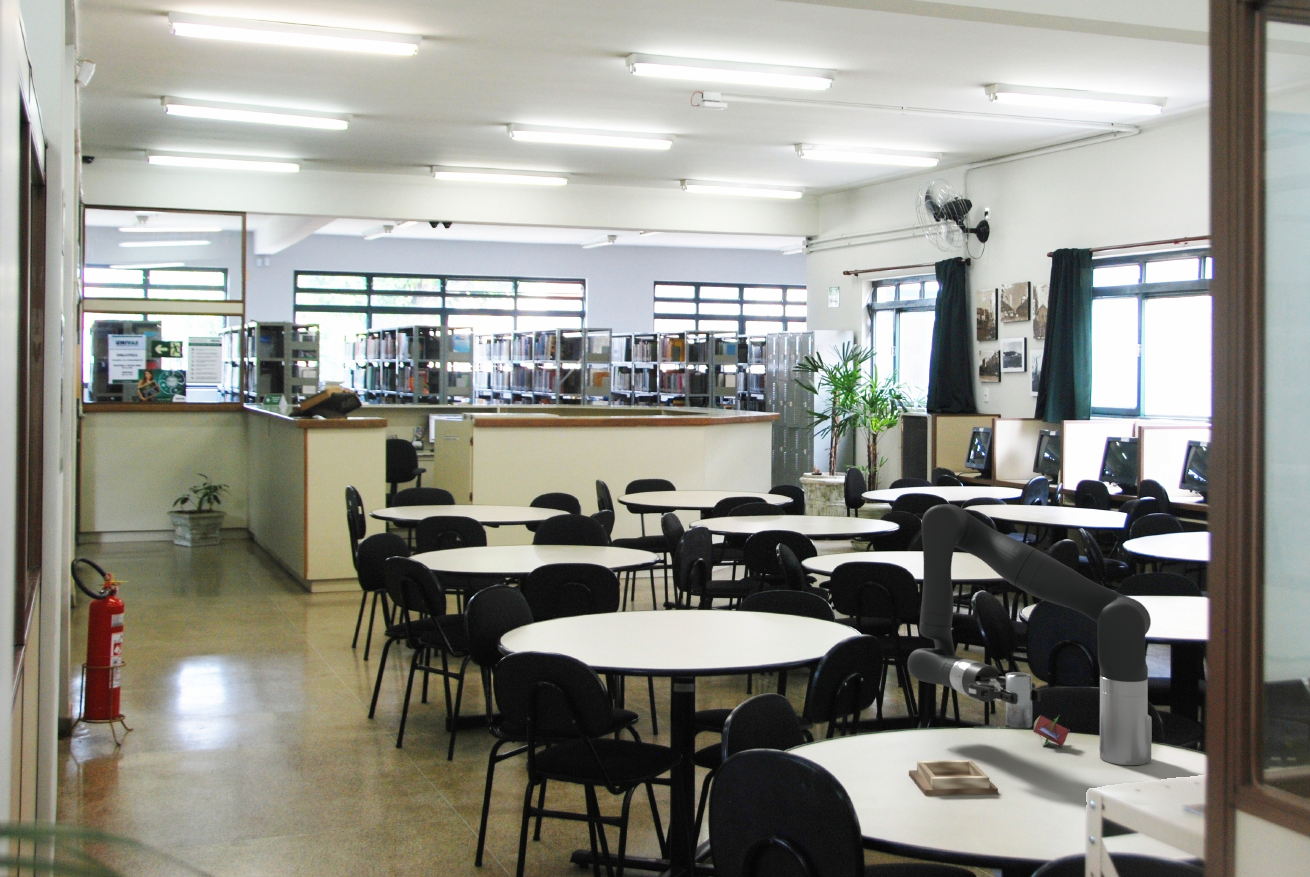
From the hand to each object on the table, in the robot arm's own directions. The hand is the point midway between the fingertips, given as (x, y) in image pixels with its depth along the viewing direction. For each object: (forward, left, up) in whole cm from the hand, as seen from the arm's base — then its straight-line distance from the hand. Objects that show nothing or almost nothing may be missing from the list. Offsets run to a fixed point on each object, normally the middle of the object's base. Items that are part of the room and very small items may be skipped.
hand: (1027, 697), depth 233 cm
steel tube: (+1, -2, -6) cm, 7 cm away
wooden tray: (+16, +3, -16) cm, 23 cm away
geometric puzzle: (-13, -22, -16) cm, 30 cm away
